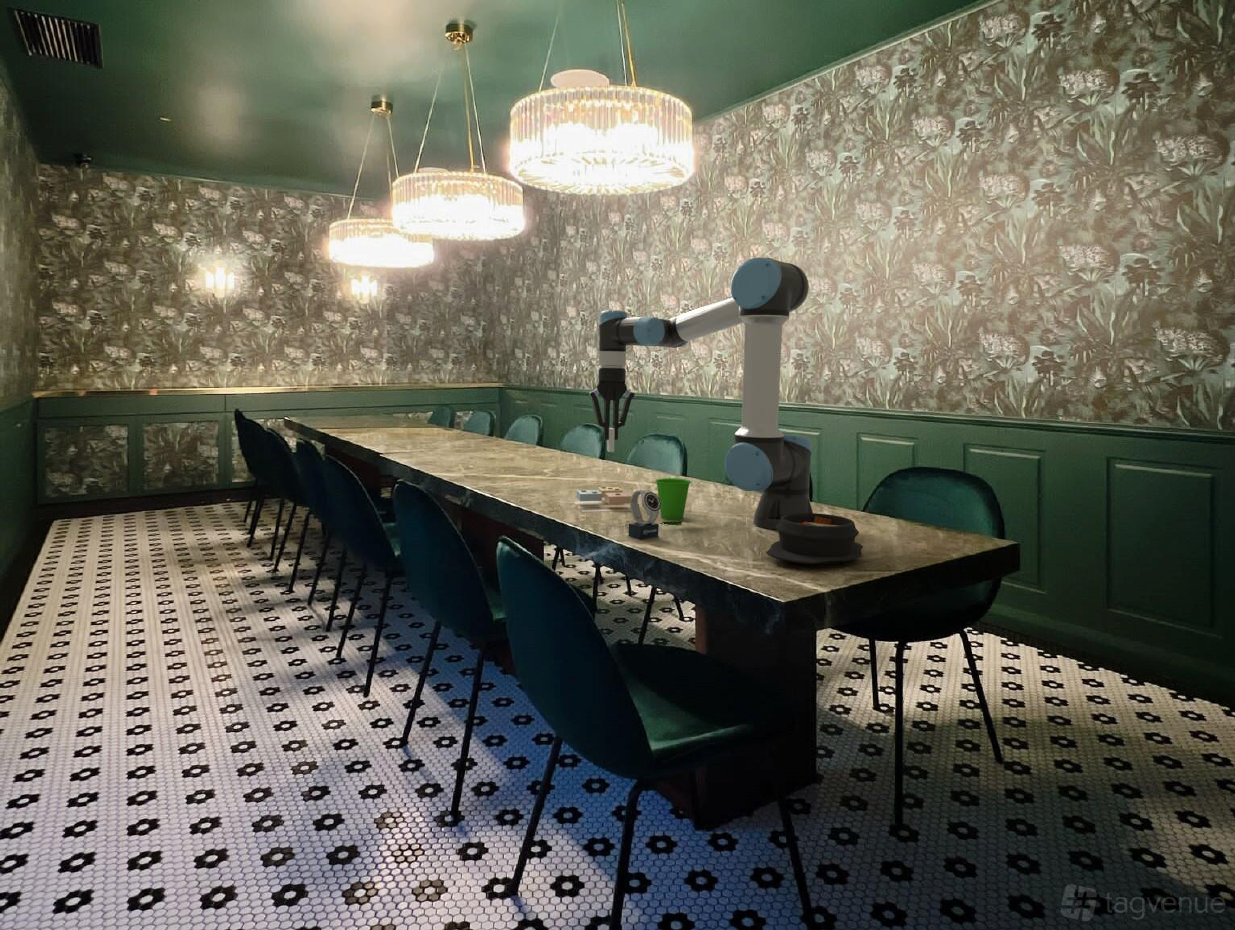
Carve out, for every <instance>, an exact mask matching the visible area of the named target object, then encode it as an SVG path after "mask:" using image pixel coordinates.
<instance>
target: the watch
mask: <svg viewBox="0 0 1235 930" xmlns="http://www.w3.org/2000/svg"><path fill="white" fill-rule="evenodd" d="M640 496H641V500H640V501H641V506H642V508H643V509H644V510H645V512H646V514H647V516H648V518H647V520H645V519H643V515H642V511H641V509H640V504H639V497H640ZM630 508H631V511H630V512H631V515H632V517H633V520H634V521H636V522H629V523H628V537H629V536H630V537H629V538H633V539H636V540H640V541H642V540H647V539H652V538H653V537H654V538H658V537H659V527H660V526H659V523H657V522H655V521H656V520H657V518H658V516H659V514H660V508H661V500H660V499H659V496H658V494H657V493H655V492H654V491H652V490H649V489H639V490H636V491H634V492H632V495H631V501H630Z"/></svg>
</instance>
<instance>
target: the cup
mask: <svg viewBox="0 0 1235 930" xmlns="http://www.w3.org/2000/svg"><path fill="white" fill-rule="evenodd" d="M654 481H655V483H656V486H657V489H656V490H657V496H658V497H659V499H660V500H661V508H660V510H659V513H660V516H661V517H660V518H662V520H663V519H664V520H673V521H662V524H663V523H664V524H663V525H666V524H667V526H680V525H682V523H683V521H682V520H683V519H684V515H685V509H686V504H687V498H688V493H689V489H690V484H691V483H692V482H691V480H690V479H686V478H685V479H684V478H676V477H675V478H674V477H672V478H671V477H669V478H668V477H666V478H664V477H663V478H656V479H655V480H654ZM679 520H681V521H679Z"/></svg>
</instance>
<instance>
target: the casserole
mask: <svg viewBox="0 0 1235 930" xmlns="http://www.w3.org/2000/svg"><path fill="white" fill-rule="evenodd" d="M776 529H777V532H778V537H779V540H778V541H775V542H773V543H772V544H771V545H770V548H769V549H767V550H766V552H765V554H766V555H768V556H769V557H771V558H775V559H778V560H782V561H785V562H789V563H791V562H792V563H798V564H805V565H836V564H839V563H843V562H845V561H852V560H856V559H858V558H860V557H861V556H862V555H863V554H862V553H863V551H862V550H863V549H864V546H863V545H862V543H858V542H855V540H856V537H857V536H858V535H860V531H859V530H858V529H857V527H856V524H855V521H854V520H853V519H851V518H850V519H849V518H847V517H843V516H840V515H834V514H828V513H827V514H826V513H818V512H817V513H816V512H815V513H814V512H813V513H796V514H789V515H785V516H782V517H781V519H780V522H779V524H778V525H776ZM776 529H775V530H776Z"/></svg>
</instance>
